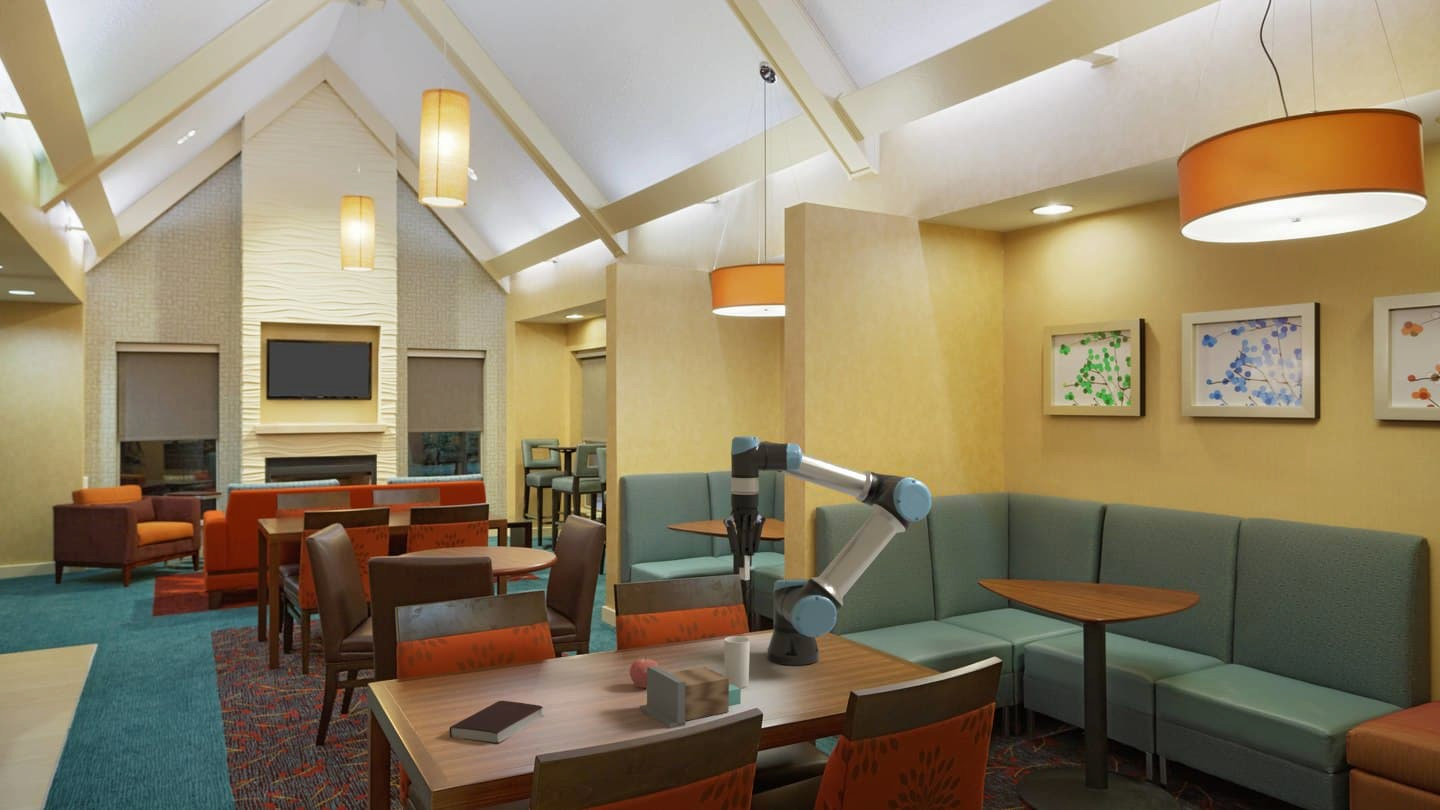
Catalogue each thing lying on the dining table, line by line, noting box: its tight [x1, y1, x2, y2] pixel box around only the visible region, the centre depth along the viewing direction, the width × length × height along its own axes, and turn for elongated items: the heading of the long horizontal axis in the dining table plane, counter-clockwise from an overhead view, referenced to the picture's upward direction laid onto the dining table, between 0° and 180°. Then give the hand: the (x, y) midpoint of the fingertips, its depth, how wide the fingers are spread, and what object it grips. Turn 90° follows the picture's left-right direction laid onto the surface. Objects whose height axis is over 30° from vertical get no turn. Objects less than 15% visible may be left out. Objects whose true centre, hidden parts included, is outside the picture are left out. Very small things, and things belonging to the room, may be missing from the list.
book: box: [449, 700, 544, 745], centre depth 205 cm, size 12×19×3 cm, turn 160°
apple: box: [629, 657, 659, 689], centre depth 234 cm, size 7×7×8 cm
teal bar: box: [729, 685, 742, 707], centre depth 220 cm, size 14×4×4 cm, turn 122°
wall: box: [639, 665, 686, 729], centre depth 212 cm, size 4×15×10 cm, turn 33°
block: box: [669, 666, 730, 722], centre depth 217 cm, size 12×11×8 cm
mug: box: [723, 635, 751, 689], centre depth 238 cm, size 10×7×12 cm, turn 24°
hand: (744, 579), depth 245 cm, fingers closed
